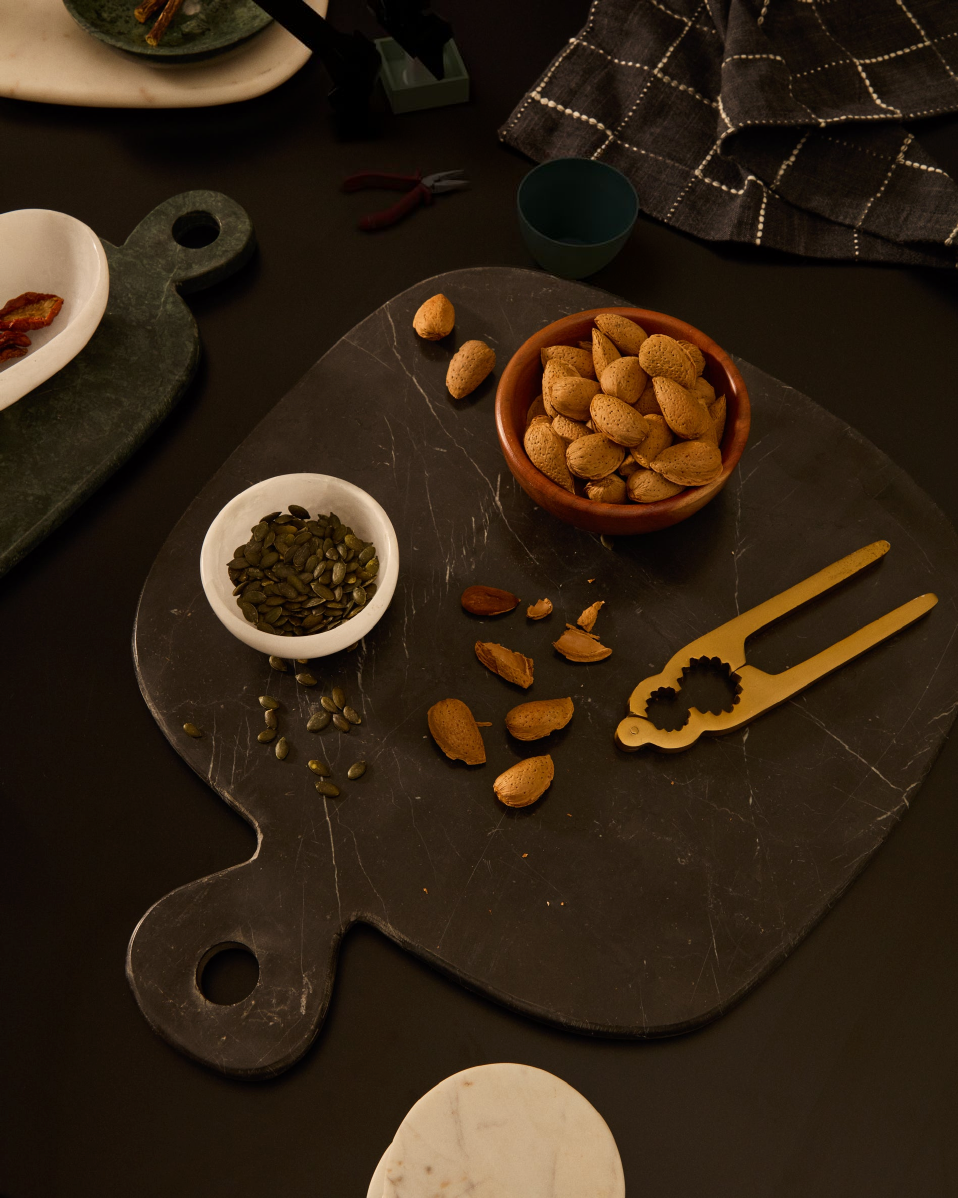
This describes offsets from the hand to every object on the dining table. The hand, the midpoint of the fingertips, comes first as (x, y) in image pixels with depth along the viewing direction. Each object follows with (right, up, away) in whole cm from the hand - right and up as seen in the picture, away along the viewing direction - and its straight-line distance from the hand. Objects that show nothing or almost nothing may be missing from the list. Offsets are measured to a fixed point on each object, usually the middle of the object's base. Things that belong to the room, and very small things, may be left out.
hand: (428, 67), depth 156 cm
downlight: (-2, +7, +17) cm, 19 cm away
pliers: (-4, -20, +5) cm, 21 cm away
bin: (-2, +7, +18) cm, 19 cm away
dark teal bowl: (+23, -31, +1) cm, 38 cm away
